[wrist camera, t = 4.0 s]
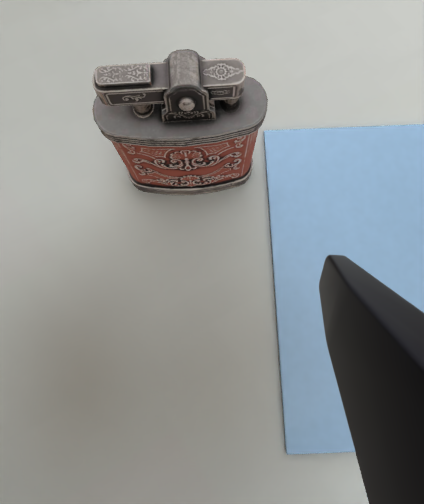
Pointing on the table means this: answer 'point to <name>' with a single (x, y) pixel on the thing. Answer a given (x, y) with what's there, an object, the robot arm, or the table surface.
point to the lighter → (181, 121)
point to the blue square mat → (337, 251)
